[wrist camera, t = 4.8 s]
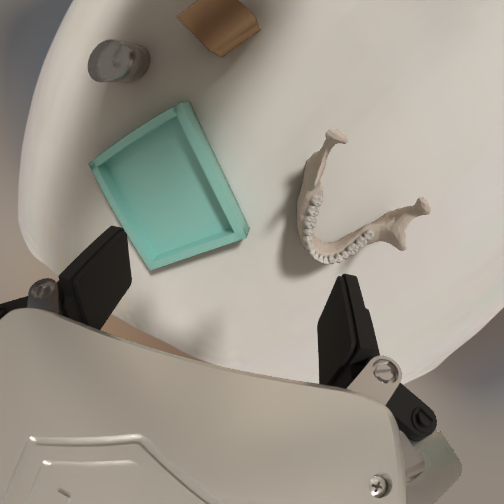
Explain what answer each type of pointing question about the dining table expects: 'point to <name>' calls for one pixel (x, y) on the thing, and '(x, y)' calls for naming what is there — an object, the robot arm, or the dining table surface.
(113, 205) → the tray
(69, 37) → the dining table surface
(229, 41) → the walnut block
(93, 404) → the robot arm
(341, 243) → the anatomical model
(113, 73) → the grey metal cylinder
